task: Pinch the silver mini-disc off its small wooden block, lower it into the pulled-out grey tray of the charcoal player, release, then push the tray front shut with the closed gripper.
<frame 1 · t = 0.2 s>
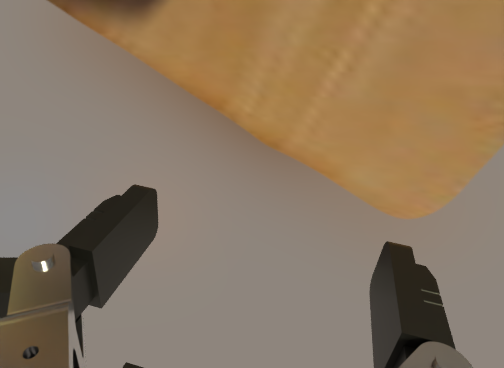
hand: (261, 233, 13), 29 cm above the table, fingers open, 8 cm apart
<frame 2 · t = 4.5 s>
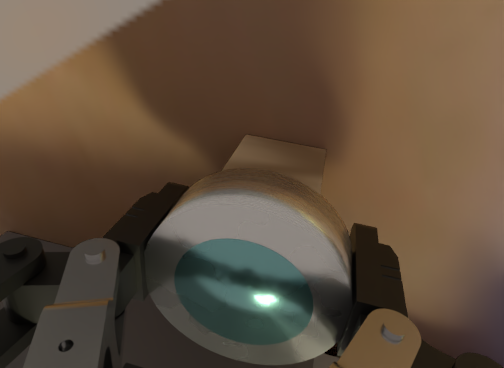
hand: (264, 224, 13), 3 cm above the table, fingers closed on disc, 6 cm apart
disc: (257, 249, 12), point 4 cm above the table, touching gripper, pedestal
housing: (157, 363, 24), on the table
pedestal: (277, 189, 15), on the table
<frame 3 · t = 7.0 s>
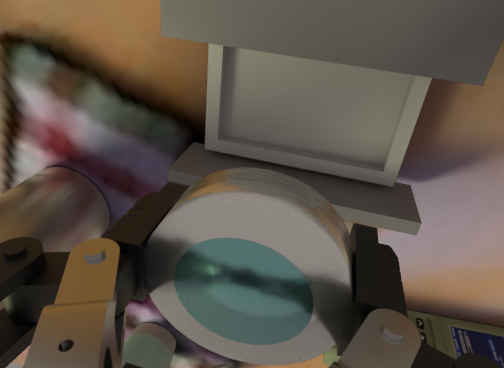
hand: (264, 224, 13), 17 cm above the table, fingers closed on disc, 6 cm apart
handheld radio: (457, 324, 35), on the table
disc: (257, 249, 12), point 19 cm above the table, touching gripper
tray: (311, 76, 23), point 4 cm above the table, slide at 9.0 cm
coffee cup: (156, 336, 48), on the table
when the fingers open (4 cm above the table, at t = 9.5 s): disc drops 3 cm, resting on tray.
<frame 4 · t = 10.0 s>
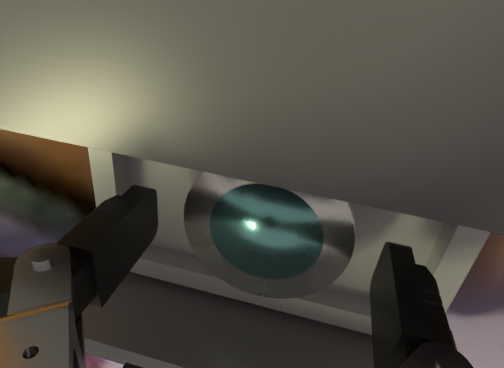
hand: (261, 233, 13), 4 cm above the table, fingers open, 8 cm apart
disc: (275, 204, 14), point 2 cm above the table, touching tray
tray: (271, 172, 12), point 4 cm above the table, slide at 9.0 cm, touching disc
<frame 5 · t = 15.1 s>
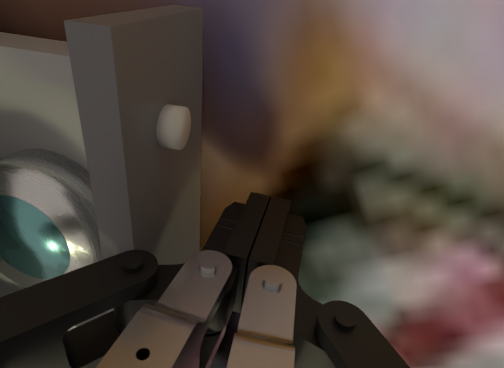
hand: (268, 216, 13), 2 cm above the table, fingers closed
disc: (59, 211, 16), point 2 cm above the table, touching tray
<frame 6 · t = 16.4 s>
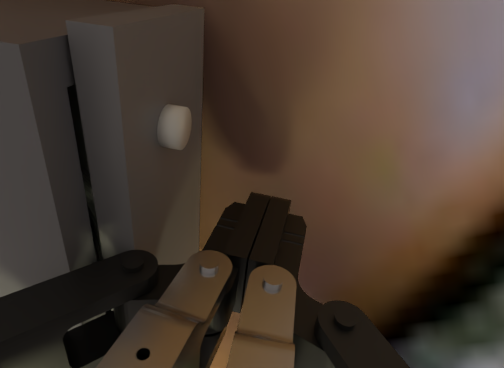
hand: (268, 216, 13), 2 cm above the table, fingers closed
disc: (58, 211, 16), point 2 cm above the table, touching tray
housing: (17, 174, 18), on the table
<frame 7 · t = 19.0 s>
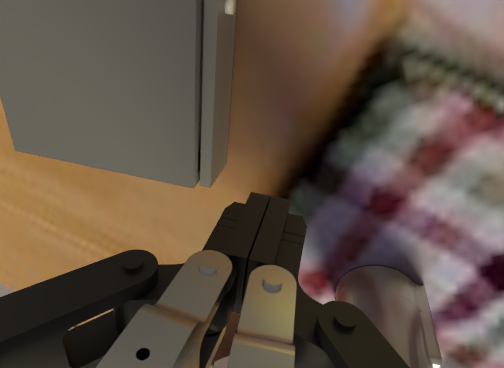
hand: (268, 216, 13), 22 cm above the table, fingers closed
tray: (130, 68, 32), point 4 cm above the table, slide at 0.0 cm, touching disc
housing: (135, 57, 35), on the table
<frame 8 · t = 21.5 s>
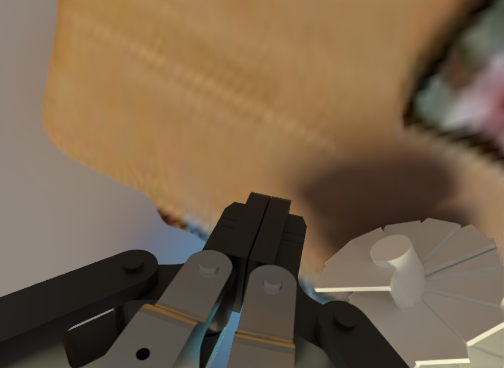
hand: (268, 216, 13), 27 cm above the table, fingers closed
spiral staircase: (423, 279, 46), on the table
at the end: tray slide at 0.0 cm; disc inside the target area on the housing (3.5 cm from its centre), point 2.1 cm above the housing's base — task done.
